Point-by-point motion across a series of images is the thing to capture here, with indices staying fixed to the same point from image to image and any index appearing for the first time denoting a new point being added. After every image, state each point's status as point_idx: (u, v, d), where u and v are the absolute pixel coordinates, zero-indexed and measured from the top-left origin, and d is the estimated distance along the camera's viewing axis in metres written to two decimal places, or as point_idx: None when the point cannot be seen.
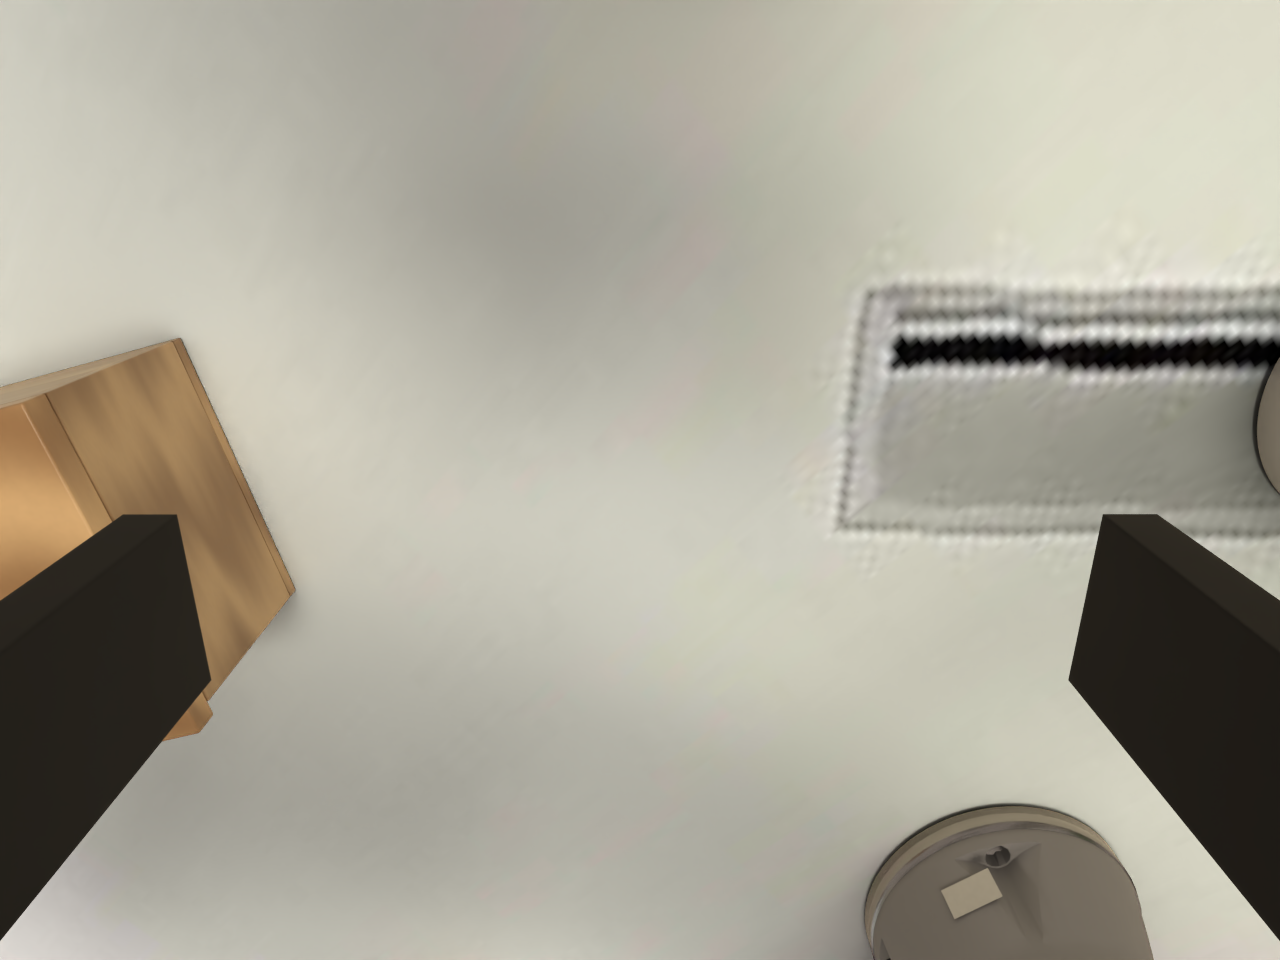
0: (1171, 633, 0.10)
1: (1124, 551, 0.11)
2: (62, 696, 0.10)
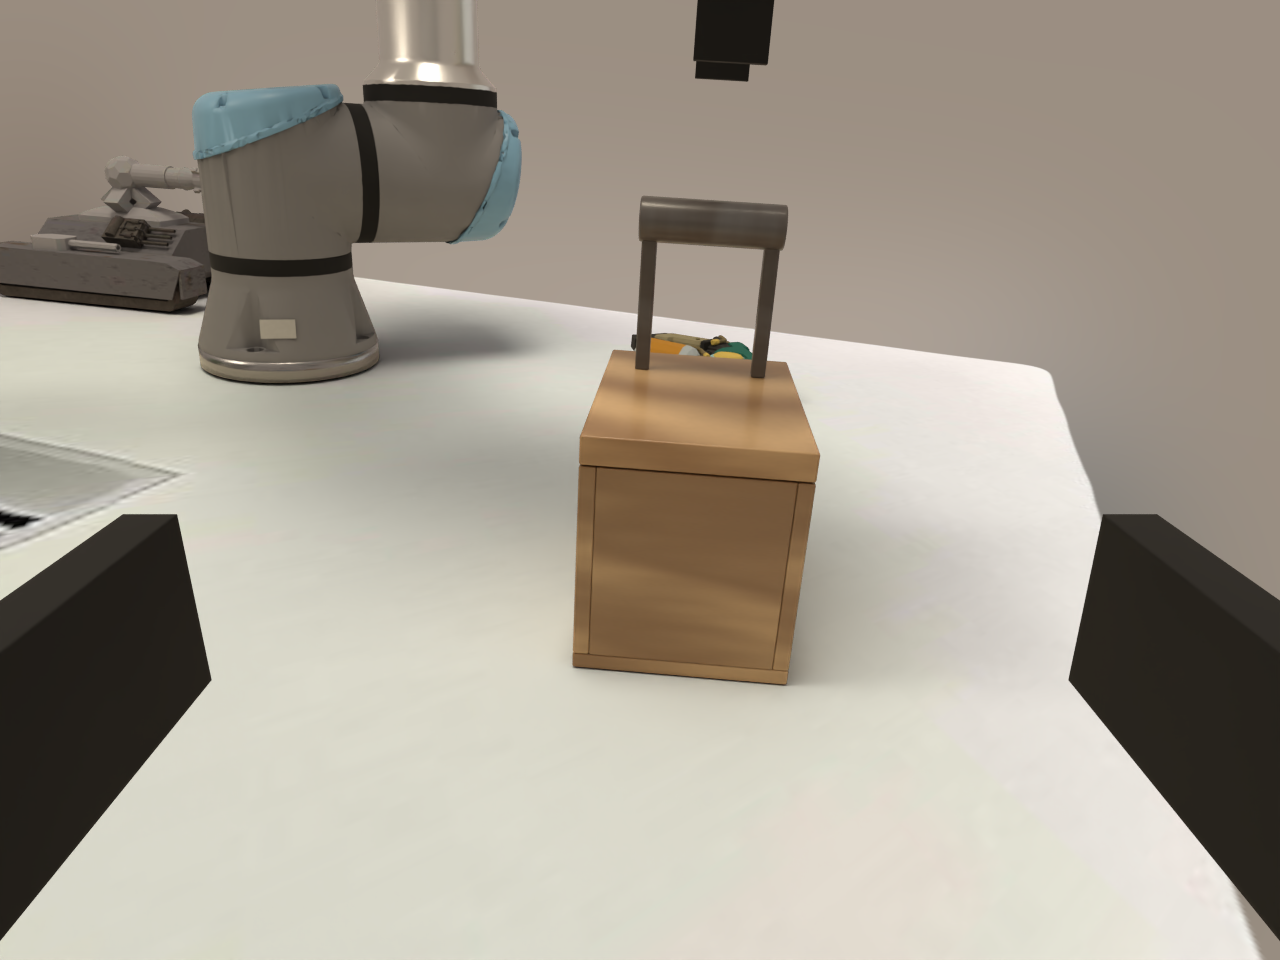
0: (1171, 633, 0.10)
1: (1124, 551, 0.11)
2: (62, 696, 0.10)
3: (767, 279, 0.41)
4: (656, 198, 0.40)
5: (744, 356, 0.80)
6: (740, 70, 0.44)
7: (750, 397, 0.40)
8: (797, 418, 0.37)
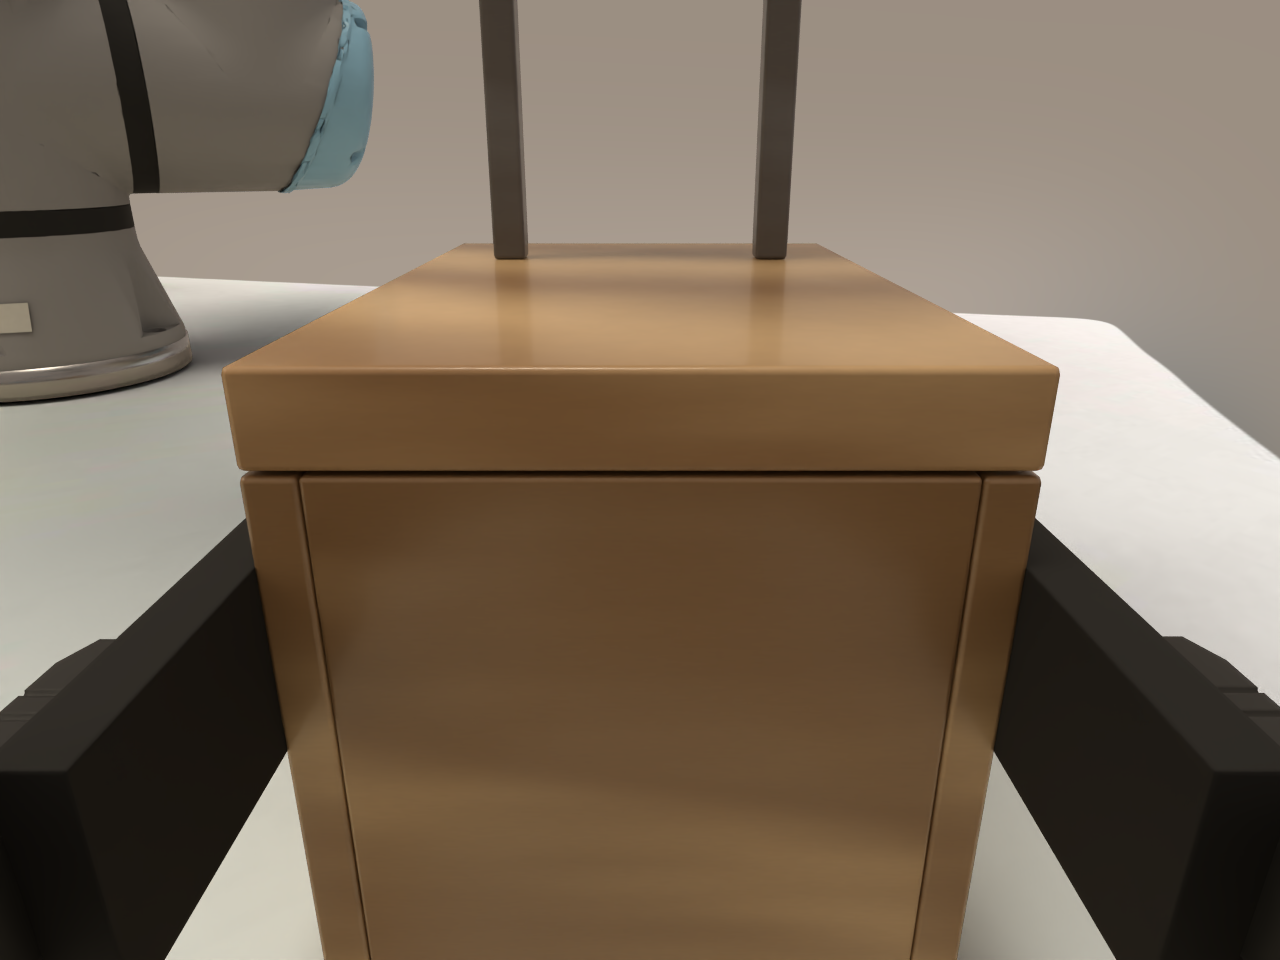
0: None
1: None
2: (264, 639, 0.11)
3: (780, 12, 0.17)
4: None
5: None
6: None
7: (768, 280, 0.16)
8: (911, 304, 0.13)
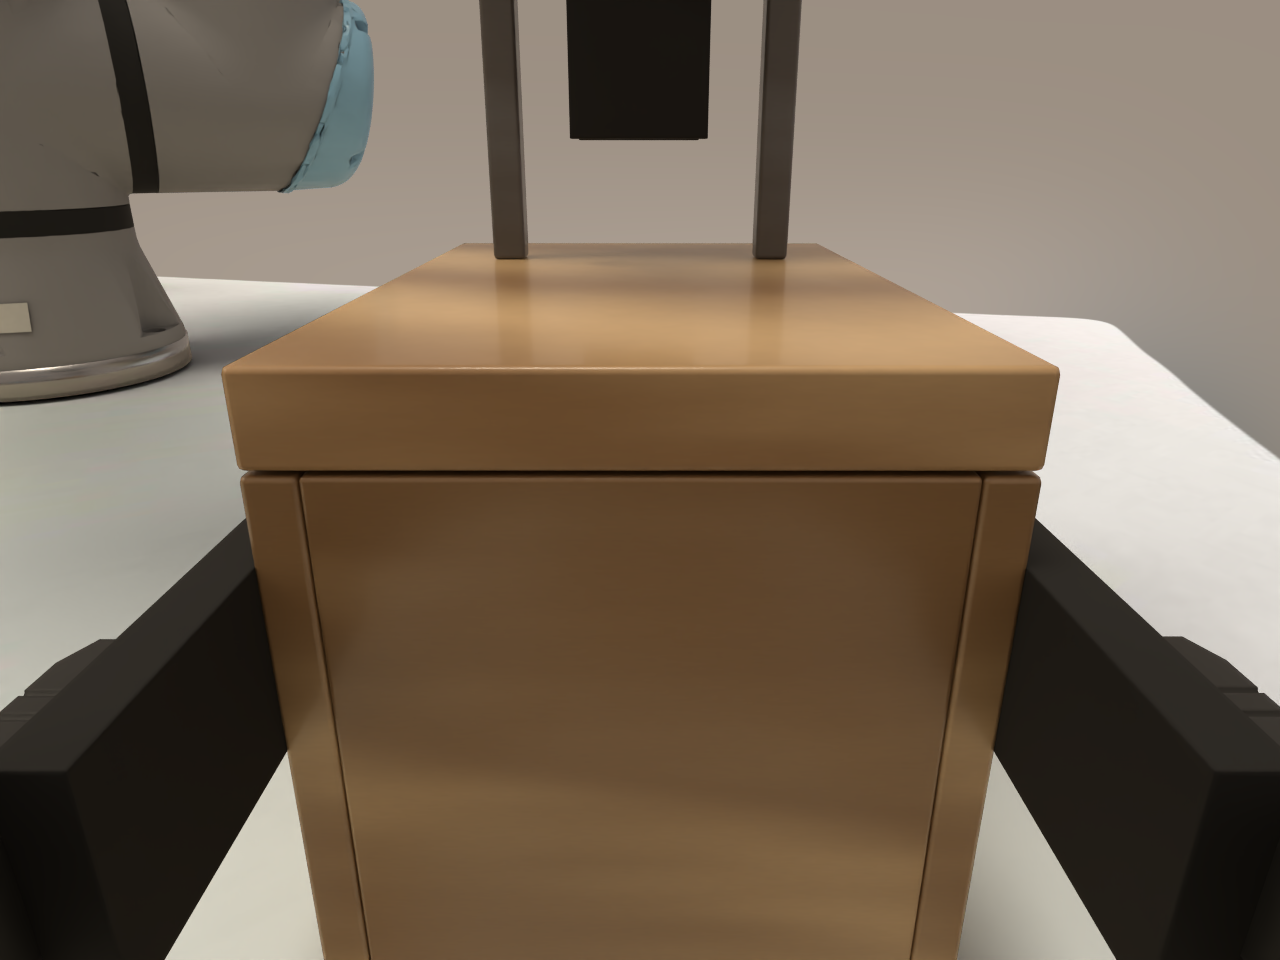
0: None
1: None
2: (264, 639, 0.11)
3: (780, 12, 0.17)
4: None
5: None
6: None
7: (768, 280, 0.16)
8: (911, 304, 0.13)
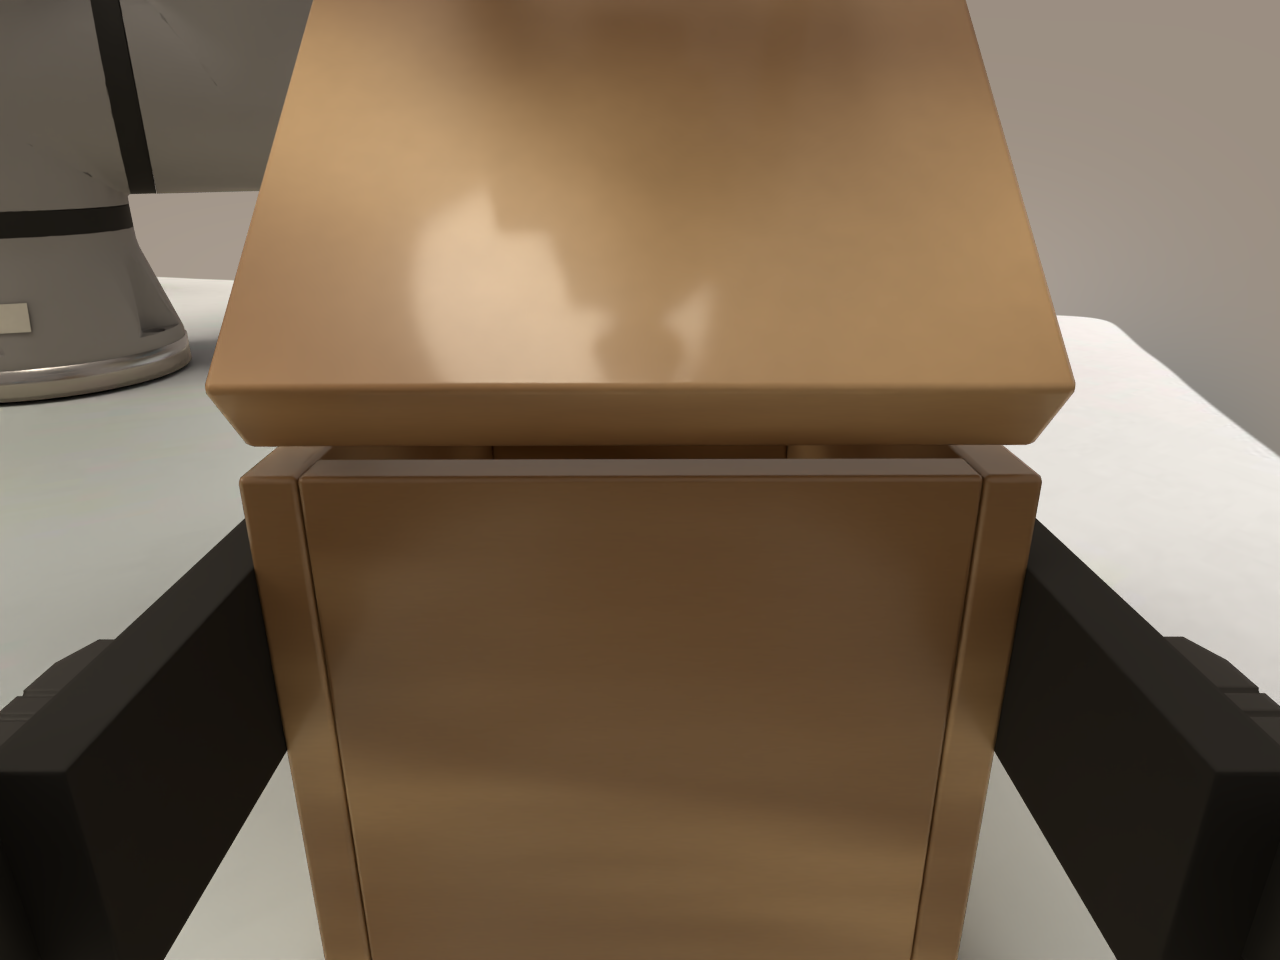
0: None
1: None
2: (263, 639, 0.11)
3: None
4: None
5: None
6: None
7: None
8: (967, 117, 0.11)
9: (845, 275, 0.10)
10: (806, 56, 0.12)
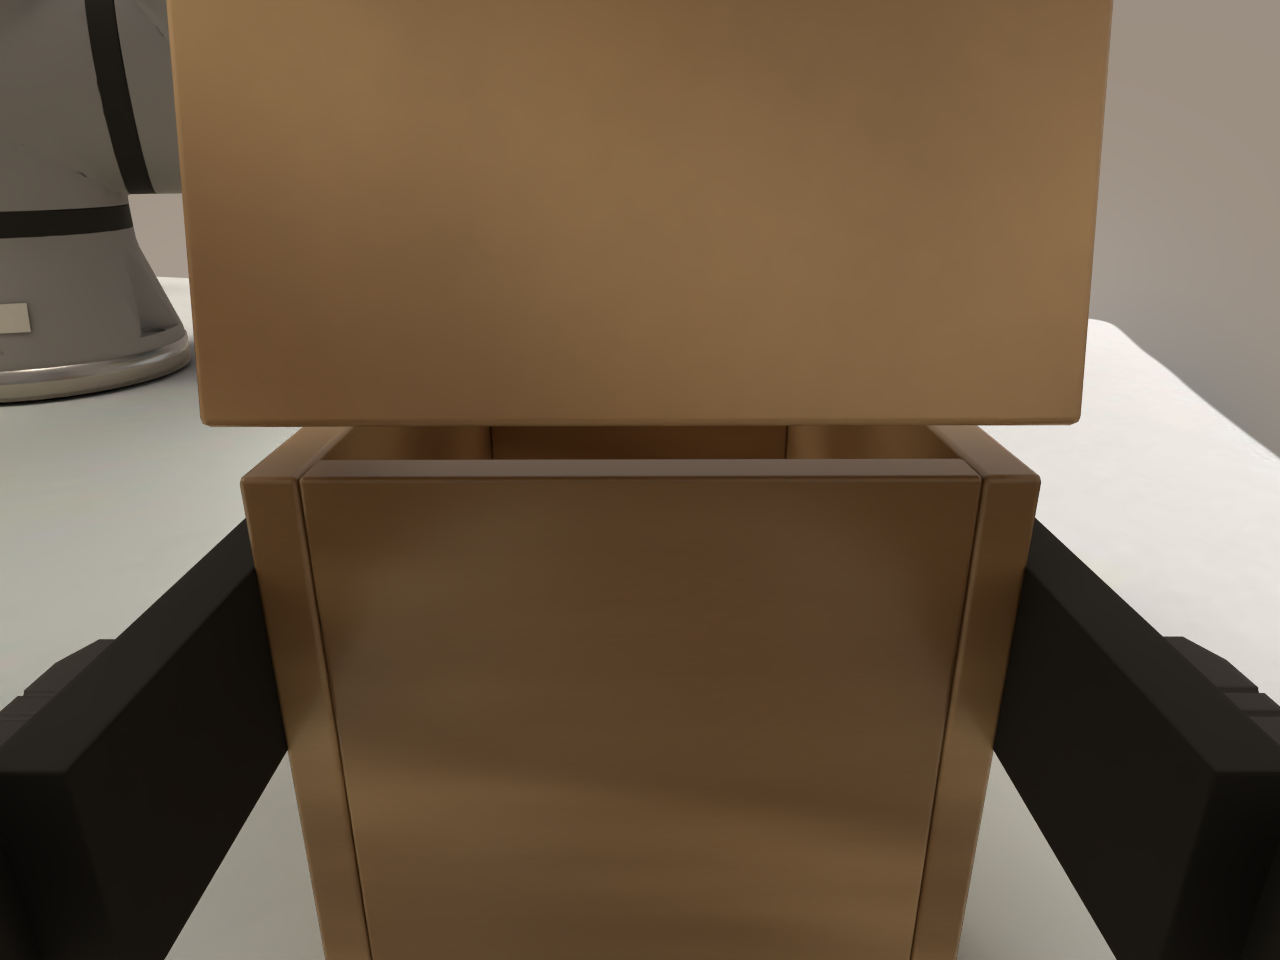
0: None
1: None
2: (264, 639, 0.11)
3: None
4: None
5: None
6: None
7: None
8: (1070, 0, 0.08)
9: (870, 273, 0.09)
10: None
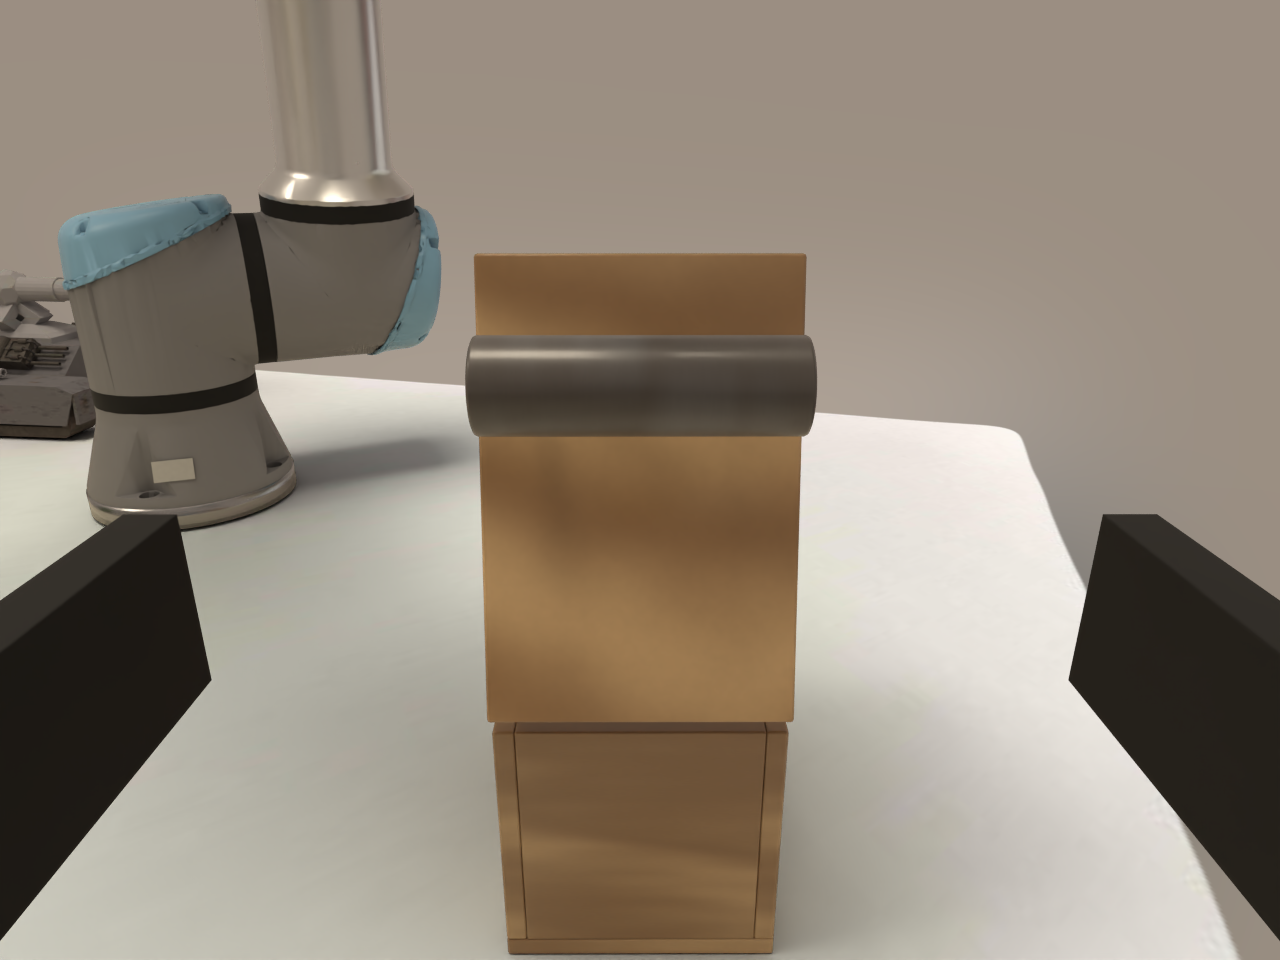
0: (1171, 633, 0.10)
1: (1124, 551, 0.11)
2: (62, 696, 0.10)
3: None
4: (502, 405, 0.17)
5: None
6: None
7: (721, 501, 0.25)
8: (782, 590, 0.26)
9: (718, 673, 0.26)
10: (717, 549, 0.26)
